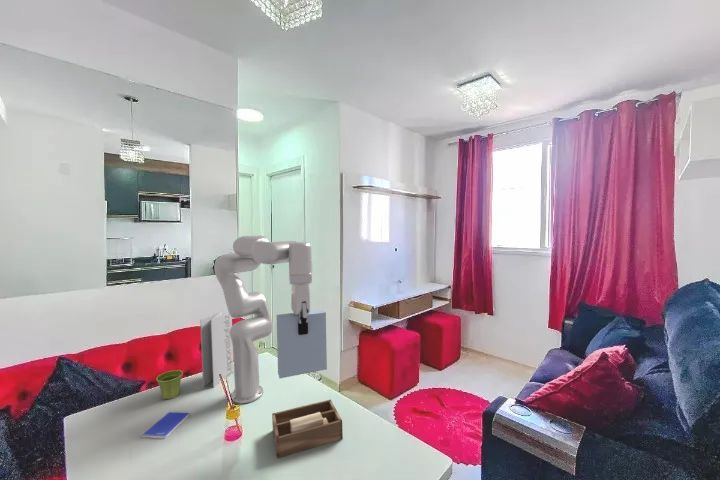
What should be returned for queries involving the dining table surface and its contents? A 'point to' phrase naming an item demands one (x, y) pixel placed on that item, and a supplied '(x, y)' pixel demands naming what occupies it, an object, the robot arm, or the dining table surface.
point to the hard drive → (166, 425)
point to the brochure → (216, 347)
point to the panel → (301, 344)
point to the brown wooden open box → (308, 437)
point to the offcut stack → (307, 422)
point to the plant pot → (170, 383)
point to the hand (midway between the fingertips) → (301, 331)
